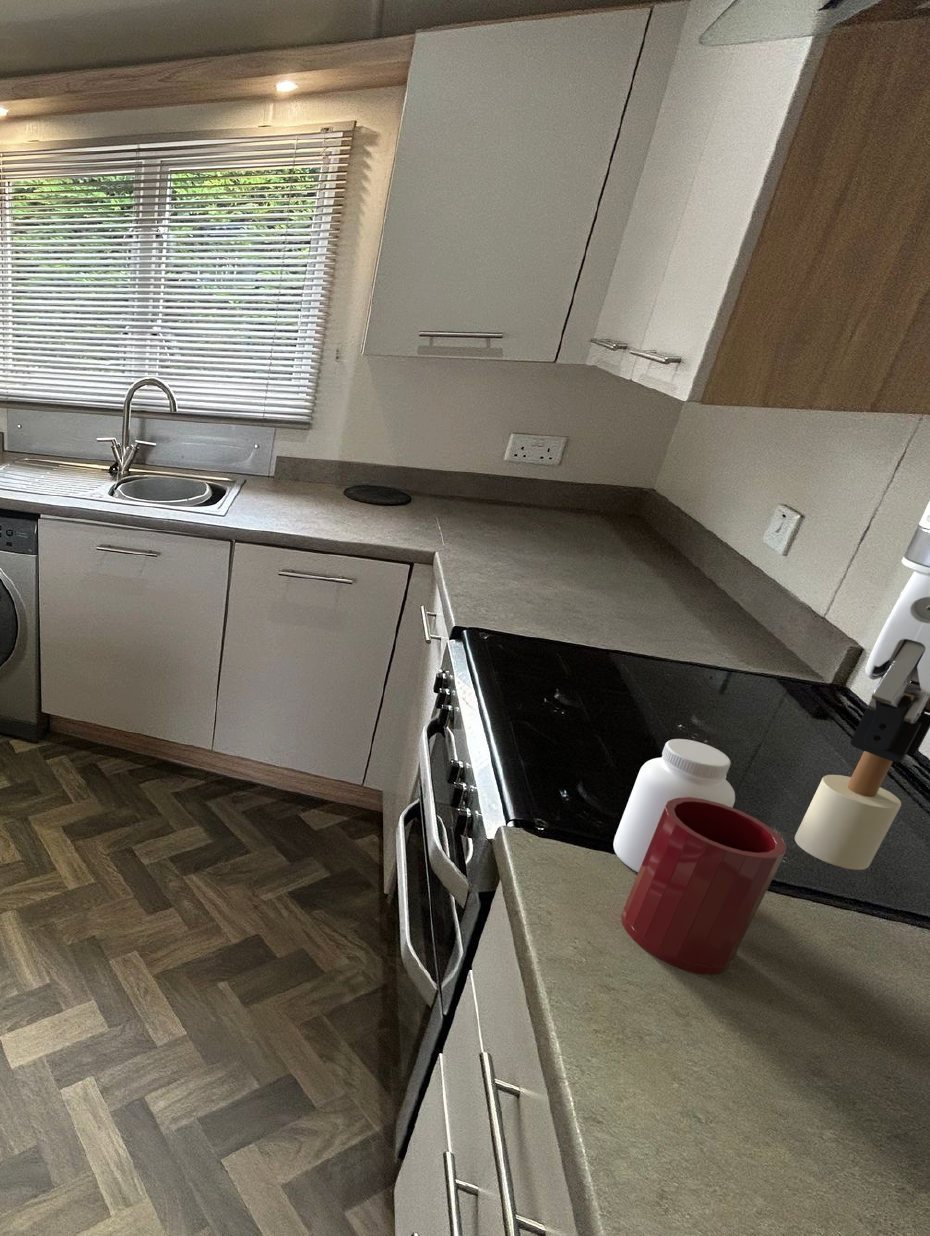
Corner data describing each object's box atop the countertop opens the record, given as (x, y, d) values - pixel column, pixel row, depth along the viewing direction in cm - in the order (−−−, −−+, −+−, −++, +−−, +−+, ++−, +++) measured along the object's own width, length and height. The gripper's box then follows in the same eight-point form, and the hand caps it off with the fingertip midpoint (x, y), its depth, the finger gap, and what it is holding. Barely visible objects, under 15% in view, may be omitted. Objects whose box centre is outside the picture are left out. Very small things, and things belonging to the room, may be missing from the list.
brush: (809, 828, 71) (881, 677, 65) (879, 860, 67) (964, 703, 61) (783, 841, 69) (855, 688, 63) (853, 876, 65) (938, 715, 59)
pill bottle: (594, 846, 84) (634, 737, 78) (642, 832, 86) (684, 726, 80) (666, 895, 76) (716, 780, 71) (717, 879, 79) (769, 766, 73)
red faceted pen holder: (650, 896, 76) (695, 788, 71) (747, 956, 69) (805, 842, 64) (602, 920, 73) (646, 809, 68) (699, 986, 66) (756, 868, 61)
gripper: (1011, 585, 51) (900, 796, 58) (1091, 557, 57) (982, 751, 64) (867, 555, 57) (781, 748, 64) (951, 533, 63) (865, 711, 70)
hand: (882, 748), depth 64 cm, fingers closed on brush
